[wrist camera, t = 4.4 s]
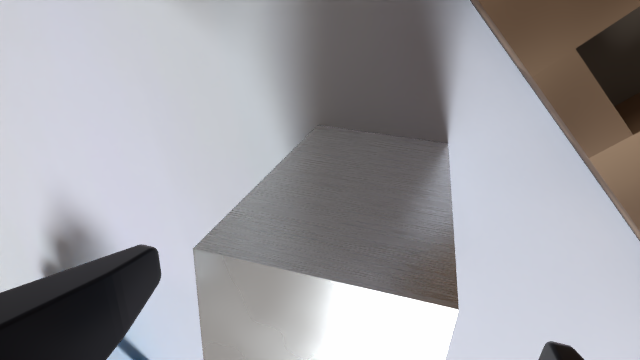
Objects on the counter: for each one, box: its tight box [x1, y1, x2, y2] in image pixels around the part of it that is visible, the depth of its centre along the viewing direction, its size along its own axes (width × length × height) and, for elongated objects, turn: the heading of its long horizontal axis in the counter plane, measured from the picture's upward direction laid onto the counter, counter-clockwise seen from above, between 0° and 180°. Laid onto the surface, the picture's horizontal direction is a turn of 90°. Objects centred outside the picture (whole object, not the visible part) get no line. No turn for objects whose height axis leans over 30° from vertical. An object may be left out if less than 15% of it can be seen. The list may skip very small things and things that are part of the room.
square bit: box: [193, 125, 459, 360], centre depth 11 cm, size 4×4×8 cm
